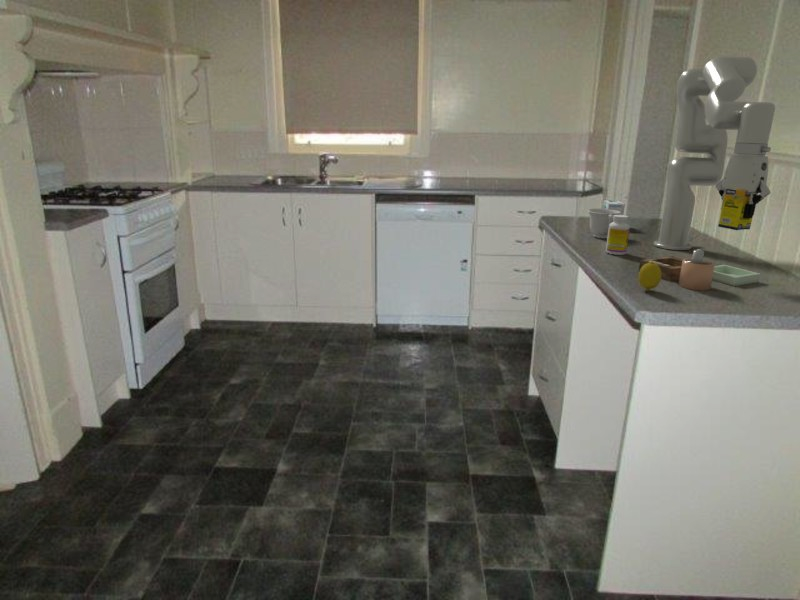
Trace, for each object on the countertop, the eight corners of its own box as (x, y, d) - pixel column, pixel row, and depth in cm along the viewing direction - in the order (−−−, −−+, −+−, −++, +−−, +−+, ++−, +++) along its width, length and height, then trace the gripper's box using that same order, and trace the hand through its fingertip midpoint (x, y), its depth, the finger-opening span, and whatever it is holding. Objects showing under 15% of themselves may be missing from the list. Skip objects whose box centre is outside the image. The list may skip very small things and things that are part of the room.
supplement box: (736, 230, 158) (745, 190, 154) (717, 226, 163) (725, 188, 159) (750, 229, 160) (759, 190, 157) (730, 225, 165) (738, 187, 162)
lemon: (632, 287, 155) (637, 259, 153) (652, 287, 156) (656, 259, 153) (642, 293, 150) (647, 264, 147) (662, 293, 150) (667, 264, 148)
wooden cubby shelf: (670, 267, 178) (672, 255, 177) (702, 275, 169) (704, 263, 167) (638, 271, 172) (640, 259, 171) (669, 280, 162) (671, 268, 161)
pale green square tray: (722, 272, 173) (724, 264, 172) (758, 282, 163) (760, 273, 162) (698, 276, 168) (700, 268, 167) (733, 286, 159) (735, 277, 158)
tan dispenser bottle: (691, 280, 163) (697, 245, 160) (716, 288, 156) (724, 251, 153) (671, 283, 160) (678, 247, 156) (697, 291, 153) (704, 253, 150)
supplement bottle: (627, 256, 191) (633, 218, 187) (606, 254, 192) (611, 217, 188) (624, 251, 197) (629, 214, 193) (604, 250, 198) (609, 213, 194)
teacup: (592, 241, 213) (596, 214, 210) (580, 233, 227) (583, 208, 224) (625, 241, 213) (629, 215, 210) (610, 234, 227) (614, 208, 224)
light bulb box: (600, 224, 247) (603, 199, 243) (616, 225, 246) (619, 200, 243) (605, 229, 237) (608, 203, 233) (621, 230, 236) (625, 204, 232)
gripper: (790, 152, 149) (775, 220, 154) (729, 148, 164) (717, 210, 169) (772, 152, 146) (757, 222, 151) (712, 148, 161) (700, 212, 166)
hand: (736, 215), depth 160 cm, fingers closed on supplement box, 6 cm apart
